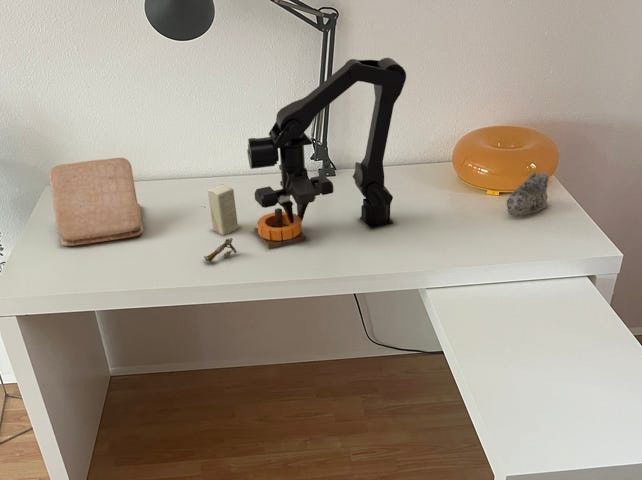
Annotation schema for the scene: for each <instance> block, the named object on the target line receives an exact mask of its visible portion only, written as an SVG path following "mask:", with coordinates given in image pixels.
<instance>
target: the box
mask: <svg viewBox="0 0 642 480" xmlns="http://www.w3.org/2000/svg"><path fill="white" fill-rule="evenodd" d="M207 195H208V201H209V209H210V215H211V223H212V230H213V231H214V232H216V233H218V234H220V235H222V236H224V235H225V236H226V235H228V234H230V233H232V232H234V231H236V230H238V229H239V224H238V215H237V214H238V213H237V208H236V200H235V191H234V188H233V187H230V186H228V185H226V184H220V185H217V186H215V187H213V188H210V189H208V190H207Z"/></svg>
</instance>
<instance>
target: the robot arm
mask: <svg viewBox="0 0 642 480" xmlns="http://www.w3.org/2000/svg"><path fill="white" fill-rule="evenodd" d="M406 80H407V72H406V70H405V69H404V67H403V66H402V65H400V64H399V62H397V61H395V60H394V59H393V58H390V57H383V58H382V59H380V60H378V59H377V60H376V59H357V58H350V59H349V60H348V59H347V61H346V62H345V63H344V64H343V65H342V66H341V67H340V68H338V70H336V71H335V72H334V73H333V74H332V75H330V76H329V77H328V78H327V79H326V80H325V81H323V82H322V83H320V85H318V86H317V87H316V88H315V89H313V90H312V91H311V92H310V93H308V94H307V95H306V96H304V97H303V98H300V99H298V100H295V101H292V102H291V103H289V104H287V105H285V106H283V107H282V108H280V109H279V111H278V112H277V113H276V119H275V123H274V124H273V126H272V128H271V129H270V131H269V132H268V136H266V137H256V138H255V137H250V138H248V139H247V141H248V143H247V149H246V150H247V159H248V164H249V168H250V170H253V169H254V170H255V169H263V168H271V167H275V165H277V164H278V162H279V161H280V164H279V165H278V168H279V170H280V173H281V174H280V175H281V180H280V181H279V182H280V184H279V185H280V187H281V188H280V189H275V190H274V189H273V188H272V187H271V185H269V186H264V187H260V188H256V190H255V191H254V200H255V201H256V202H257V204H258V205H259V206H261V208H264V209H266V208H270V207H275V206H277V205H279V206H280V207H282V208H283V210H284V212H286V214H287V217H288V219H289V221H290V223H291V224H292V223H293V221H294V218H293V213H294V211H293V205H294V202H295V204H296V212H297V213H296V215H298V216H299V217H300V218H301V224H302V222H303V220H304V216H305V214H306V211H307V208H308V206H309V204H310V203H313V202H315V200H316V198H317V197H318V196H320V195H322V196H325V195H329V194H331V195H332V194H333V193H334V192H335V191H334V183H333V182H332V180H330V179H329V178H327V176H325V174H321V175H315V176H312V177H309V174H308V169H307V168H306V163H305V161H306V160H305V146H309V145H312V144H313V141H312V139H311V137H310V136H308V135H307V134H306V133H305V132H306V131H307V130H308V129H309V128H310V126H311V125H312V123H313V121H314V120H315V118H316V117H317V116H318V114H319V113H320V112H322V111H323V110H324V109H326V108H327V107H328V106H329V105H330V104H332V103H333V102H334V101H335V100H337V99H338V98H339V97H340V96H341V95H342V94H344V93H345V92H346V91H348V90H349V89H350V88H352V86H354V85H355V84H356V83H357V82H361V83H367V84H371V85H373V91H374V104H373V110H372V116H371V121H370V127H369V132H368V138H367V144H366V148H365V154H364V158H363V159H362V160H361V162H358V161H355V163H354V172H353V175H352V178H353V180H354V184H355V185H356V188H357V189H358V190H359V191H360V193H361V194H362V196H363V197H364V198H363V199H362V205H361V207H360V208H361V209H360V210H361V211H360V212H361V213H360V215H361V216H360V217H359V220H360V221H361V222H363V223H364V225H366V226H367V227H368V228H370V229H375V228H381V227H384V226H388V225H393V224H394V221H393V220H392V219H391V205H392V202H393V199H394V196H393V195H392V194H391V192H390V191H389V190H388V188H387V187H386V185H385V170H384V157H385V154H386V153H385V152H386V147H387V144H388V143H387V142H388V137H389V132H390V128H391V121H392V116H393V112H394V106H395V103H396V101H398V99H399V97H400V96H401V94H402V91H403V89H404V86H405V83H406ZM291 196H292V198H293V201H292V200H291Z"/></svg>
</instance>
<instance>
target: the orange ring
mask: <svg viewBox="0 0 642 480" xmlns="http://www.w3.org/2000/svg"><path fill="white" fill-rule="evenodd" d="M282 217H283V224H287V225H289V226H286V227H282V228H273V227H270V226H273V225H276V221H275V211H274V212H270V213H267V214H264V215H262V216H261V217H259V218H258V219H257V223H256V224H257V228H258V233H259V235H260V236H261V237H263V238H265V239H268V240H271V239H272V240H280V241H281V240H282V239H283V240H287V239H291V238H292V237H293V238H294V237H296V236H297V235H299V234H300V233H301V231H302V228H303V225H302V223H301V218H300V217H299V216H298V215H297V213H294V212H293V218H294V221H293V223H292V224H291V223H290V221H289V219H288V217H287V214H286V212H285V211H282Z"/></svg>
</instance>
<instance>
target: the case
mask: <svg viewBox="0 0 642 480" xmlns="http://www.w3.org/2000/svg"><path fill="white" fill-rule="evenodd" d="M48 177H49V178H48V179H49V184H50V192H51V198H52V199H51V200H52V205H53V211H54V218H55V225H56V231H57V235H58V236H59V238H60V240H61V241H60V243H61V244H62V246H65V247H75V246H80V245H81V246H82V245H88V244H95V243H102V242H107V241H115V240H121V239H128V238H135V237H138V236H140V235H142V234H143V231H144V230H143V221H142V214H141V205H140V203H138V199H137V198H138V197H137V192H136V187H135V181H134V174H133V168H132V165H131V162H130V161H129V160H128V159H127V158H125V157H113V158H105V159H104V158H103V159H94V160H93V159H92V160H86V161H85V160H84V161H78V162H73V163H64V164H58V165H55V166H53V167H52V168H51V169H50V170H49V172H48Z"/></svg>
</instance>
